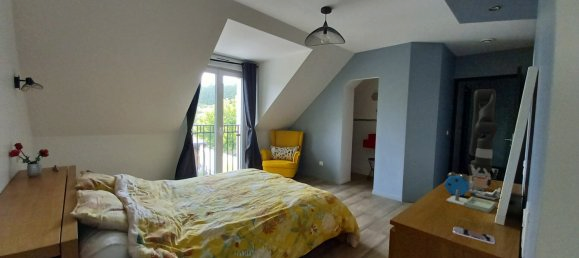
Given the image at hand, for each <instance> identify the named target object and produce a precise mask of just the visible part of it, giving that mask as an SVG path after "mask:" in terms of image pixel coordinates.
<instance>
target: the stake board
mask: <svg viewBox="0 0 579 258" xmlns="http://www.w3.org/2000/svg"><path fill="white" fill-rule="evenodd" d="M459 195H460V190H456V195H451V196H450V197H448V198H447V199H446V200H445V201H446V202H449V203H451V204H452V203H453V204H457V205H460V206H464V202H465V201H467V200H468V199H469V198H464V197H462V196H461V197H460V196H459Z"/></svg>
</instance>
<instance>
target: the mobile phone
mask: <svg viewBox="0 0 579 258" xmlns="http://www.w3.org/2000/svg"><path fill="white" fill-rule="evenodd" d="M452 233H453V234H456V235H460V236H462V237H467V238H469V239H473V240H477V241H481V242H485V243H488V244H490V245H491V244H492V245H495V244H496V241H495V237H494V236H493V235H489V234H486V233H482V232H478V231H475V230H470V229H466V228H464V227H463V228H462V227H460V226H453V229H452Z"/></svg>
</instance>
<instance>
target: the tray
mask: <svg viewBox="0 0 579 258" xmlns="http://www.w3.org/2000/svg"><path fill="white" fill-rule="evenodd" d="M467 199H468V200H467V201H465V202H464V205H463V207H465V208H468V209H472V210H476V211H479V212H483V213H487V214H489V213H491V212H492V210H493V209H494V208H495V207H496V202H495V201H492V200H487V199H485V198H481V197H472V196H471V197H469V198H467Z"/></svg>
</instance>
